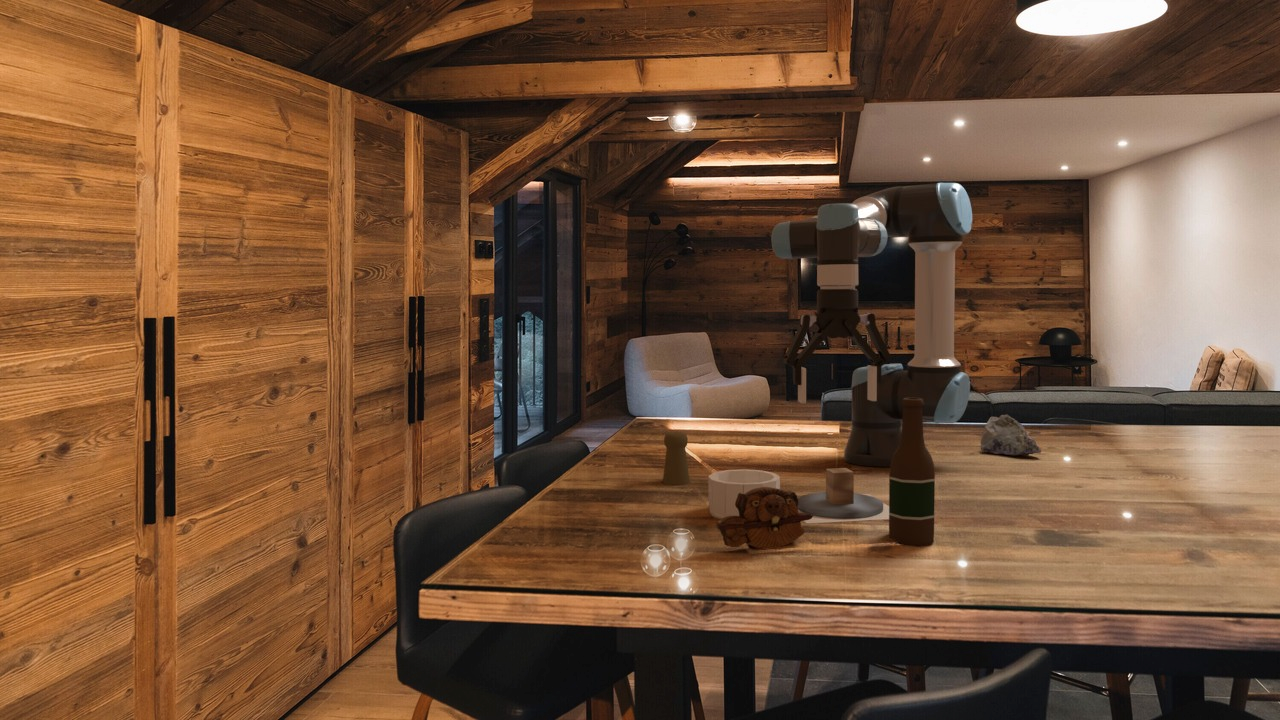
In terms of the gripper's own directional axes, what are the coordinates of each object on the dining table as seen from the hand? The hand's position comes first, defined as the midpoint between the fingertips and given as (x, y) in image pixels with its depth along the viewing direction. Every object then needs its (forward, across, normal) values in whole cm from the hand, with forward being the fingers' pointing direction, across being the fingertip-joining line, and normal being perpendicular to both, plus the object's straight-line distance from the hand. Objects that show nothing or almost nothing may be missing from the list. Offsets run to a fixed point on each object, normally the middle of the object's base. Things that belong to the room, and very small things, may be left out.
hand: (837, 401), depth 173 cm
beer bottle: (+21, -6, +21) cm, 30 cm away
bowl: (+21, +18, -2) cm, 27 cm away
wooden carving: (+21, +19, +21) cm, 36 cm away
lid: (+20, 0, 0) cm, 20 cm away
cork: (+21, +26, -30) cm, 45 cm away
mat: (+21, 0, 0) cm, 21 cm away
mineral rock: (+21, -59, -44) cm, 77 cm away
